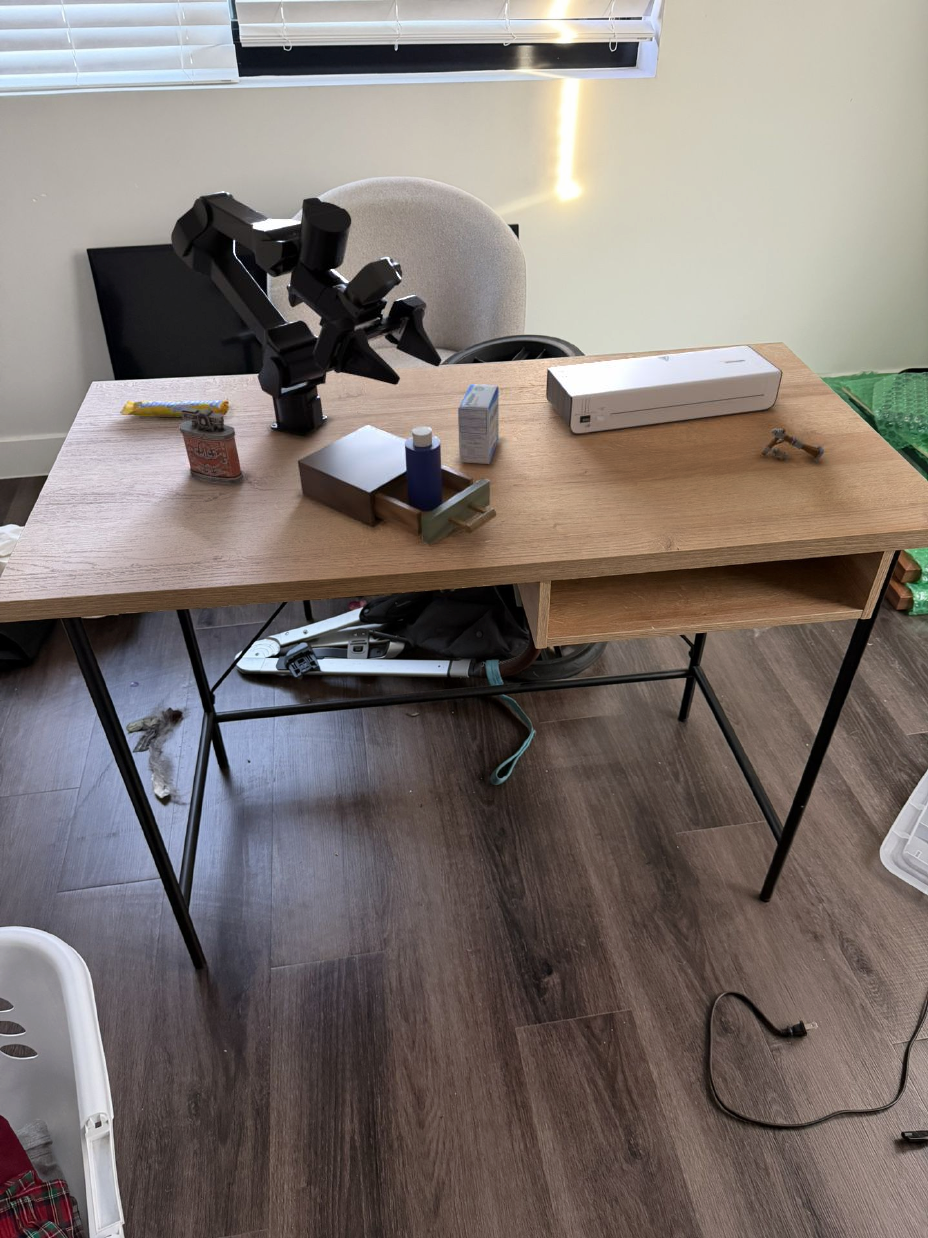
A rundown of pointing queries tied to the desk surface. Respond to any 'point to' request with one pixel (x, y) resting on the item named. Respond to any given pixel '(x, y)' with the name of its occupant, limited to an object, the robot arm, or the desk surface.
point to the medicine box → (478, 423)
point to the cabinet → (354, 472)
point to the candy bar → (171, 408)
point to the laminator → (662, 389)
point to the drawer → (456, 507)
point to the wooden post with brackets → (780, 434)
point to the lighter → (210, 447)
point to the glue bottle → (423, 470)
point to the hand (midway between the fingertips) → (419, 372)
